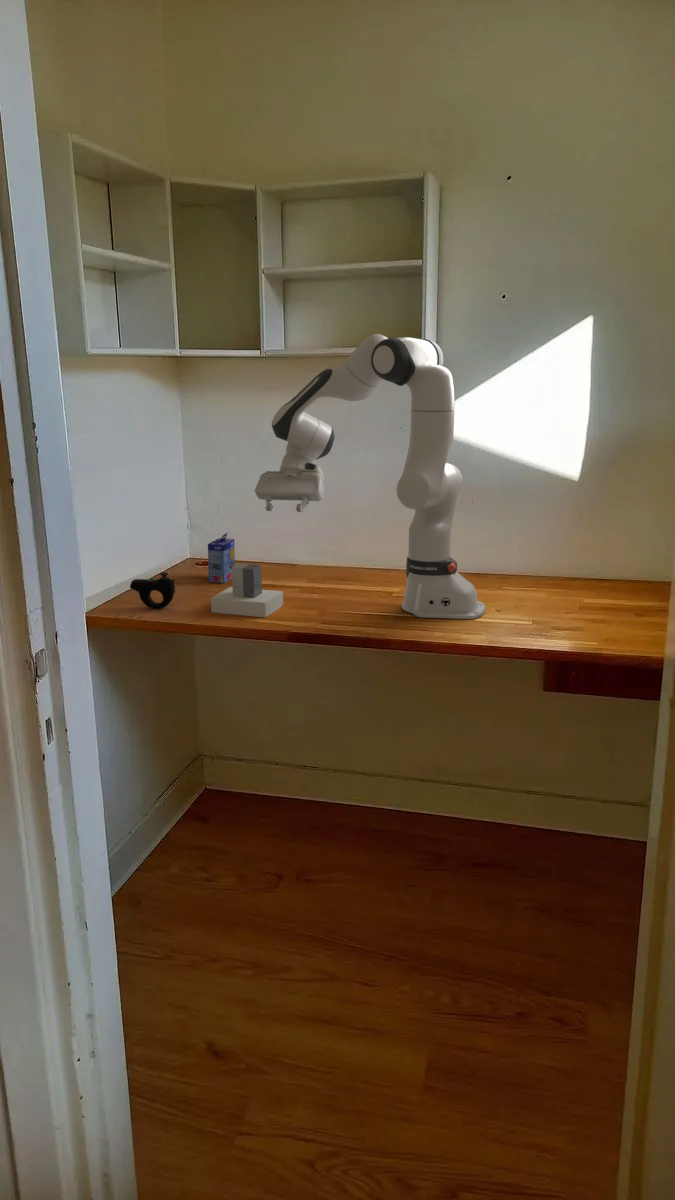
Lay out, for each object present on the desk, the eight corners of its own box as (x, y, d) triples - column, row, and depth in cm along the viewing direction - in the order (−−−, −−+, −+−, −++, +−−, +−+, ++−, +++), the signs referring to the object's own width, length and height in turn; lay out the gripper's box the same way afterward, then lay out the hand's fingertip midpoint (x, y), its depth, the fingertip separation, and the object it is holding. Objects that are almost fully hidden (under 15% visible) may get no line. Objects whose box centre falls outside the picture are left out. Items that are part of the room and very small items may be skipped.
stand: (283, 605, 235) (282, 591, 234) (265, 617, 224) (265, 602, 223) (230, 600, 240) (230, 586, 239) (211, 612, 229) (210, 598, 228)
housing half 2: (262, 593, 232) (261, 564, 230) (254, 597, 227) (253, 569, 225) (251, 592, 233) (250, 564, 231) (243, 597, 228) (242, 568, 226)
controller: (174, 610, 231) (171, 575, 228) (130, 609, 232) (127, 574, 229) (178, 606, 235) (176, 571, 232) (135, 605, 236) (132, 570, 233)
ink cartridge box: (225, 583, 258) (223, 537, 254) (208, 583, 259) (205, 536, 255) (236, 576, 267) (234, 530, 263) (220, 575, 268) (217, 530, 264)
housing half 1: (251, 592, 233) (250, 564, 231) (243, 597, 228) (242, 568, 226) (240, 591, 234) (239, 563, 232) (232, 596, 229) (231, 567, 227)
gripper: (258, 464, 249) (246, 502, 242) (324, 465, 242) (313, 504, 236) (265, 477, 254) (253, 515, 248) (329, 479, 248) (319, 518, 241)
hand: (283, 510), depth 242 cm, fingers open, 8 cm apart
